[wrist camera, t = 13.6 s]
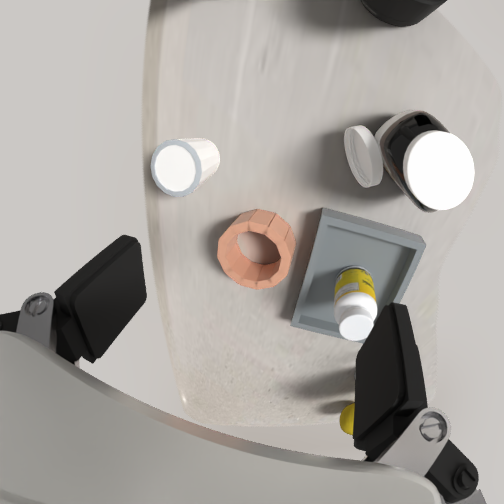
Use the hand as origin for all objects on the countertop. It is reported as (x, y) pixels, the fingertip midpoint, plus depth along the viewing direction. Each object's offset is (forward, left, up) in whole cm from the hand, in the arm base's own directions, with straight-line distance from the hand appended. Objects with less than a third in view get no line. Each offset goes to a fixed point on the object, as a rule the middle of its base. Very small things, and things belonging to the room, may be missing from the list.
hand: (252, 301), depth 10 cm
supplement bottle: (+14, +10, -26) cm, 31 cm away
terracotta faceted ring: (+12, -4, -27) cm, 29 cm away
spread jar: (-4, +10, -27) cm, 29 cm away
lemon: (+44, +22, -27) cm, 56 cm away
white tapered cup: (+2, -14, -27) cm, 31 cm away
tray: (+14, +10, -27) cm, 31 cm away
